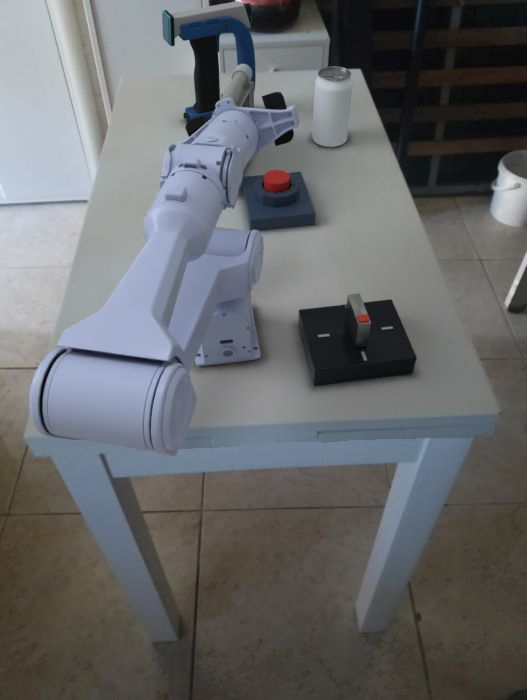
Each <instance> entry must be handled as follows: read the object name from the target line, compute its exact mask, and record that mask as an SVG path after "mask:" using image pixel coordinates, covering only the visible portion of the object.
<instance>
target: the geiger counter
mask: <svg viewBox="0 0 527 700" xmlns="http://www.w3.org/2000/svg"><path fill="white" fill-rule="evenodd" d="M251 78H252V70H251V68H250V67H249V66H248V65H246V64H240V65H238V66H237V65H236V67H235V69H234V70H233V72H232V75H231V81H230V82H229V84H228V85H227V87H226V89H225V91H224V93H221V92H220V100H223V99H226V98H232V99H233V100H234V103H235V105H236V106H237V107H247V108H255V90H254V82H251V81H250V80H251ZM216 113H217V110H216V109H215V111H214V112H213V114H212V118H213V117H214V116H215V115H216ZM245 171H246V169H244V170H243V172H245Z"/></svg>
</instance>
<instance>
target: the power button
mask: <svg viewBox="0 0 527 700" xmlns="http://www.w3.org/2000/svg"><path fill="white" fill-rule="evenodd" d="M288 173H289V172H287V171H285V170H282V169H272V170H269V171H267V172H266V173H265V174H263V175H264V188H265V190H267V191H269V192H274V193H279V192H284V191H286V190H288V189H289V187H290V176H289V174H288Z"/></svg>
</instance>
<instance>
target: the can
mask: <svg viewBox="0 0 527 700" xmlns="http://www.w3.org/2000/svg"><path fill="white" fill-rule="evenodd" d="M351 76H352V72H351V71H350V70H349V69H348V68H346V67H342V66H337V65H335V66H332V65H331V66H324V67H322V68H320V69H319V70H318V71H317V77H316V78H315V80H314V93H313V111H312V131H311V132H312V133H311V139H312V140H313V142H314V143H315V145H318V146H320V147H322V148H329V149H330V148H332V149H333V148H338V147H341V146H343V145H344V144H345V143H346V142H347V140H348V134H349V125H350V115H351V107H352V106H351V104H352V96H353V95H352V94H353V79H352V77H351Z"/></svg>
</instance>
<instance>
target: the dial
mask: <svg viewBox="0 0 527 700" xmlns="http://www.w3.org/2000/svg"><path fill="white" fill-rule="evenodd" d="M363 302H364V300H363V298H362V296H361V293H359V292H358V293H350V294H347V297H346V304H347V305H346V304H345V305H346V312H345V321H346V324H347V327H348V330H349V333H350V336H351V338H352V341H353V344H354V347H355V348H359V347H367V343H368V337H369V332H370V326H371V321H370V319H369V316H368V313H367V311H366V308H365V306H364V303H363Z"/></svg>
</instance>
